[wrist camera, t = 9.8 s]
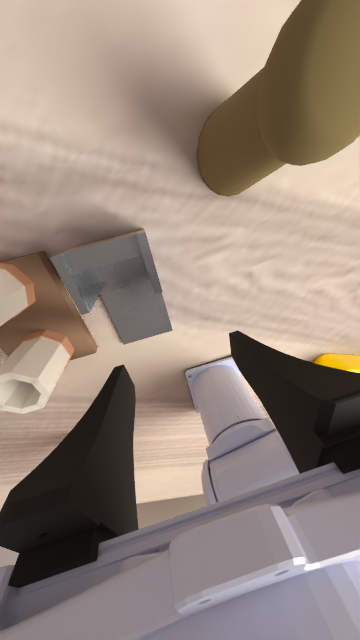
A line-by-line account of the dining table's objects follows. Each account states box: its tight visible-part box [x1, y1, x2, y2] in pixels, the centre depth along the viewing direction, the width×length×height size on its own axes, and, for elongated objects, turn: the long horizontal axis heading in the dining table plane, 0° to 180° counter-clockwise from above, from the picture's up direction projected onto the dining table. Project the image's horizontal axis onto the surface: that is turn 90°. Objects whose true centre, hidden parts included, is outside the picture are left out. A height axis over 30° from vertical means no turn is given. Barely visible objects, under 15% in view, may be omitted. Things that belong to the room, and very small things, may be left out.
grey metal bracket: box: [50, 229, 172, 344], centre depth 17 cm, size 11×6×6 cm, turn 13°
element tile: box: [313, 353, 360, 373], centre depth 33 cm, size 15×15×5 cm
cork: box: [197, 0, 360, 196], centre depth 11 cm, size 6×6×11 cm
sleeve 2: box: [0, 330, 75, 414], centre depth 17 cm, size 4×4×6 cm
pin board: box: [0, 251, 98, 360], centre depth 17 cm, size 11×8×4 cm
